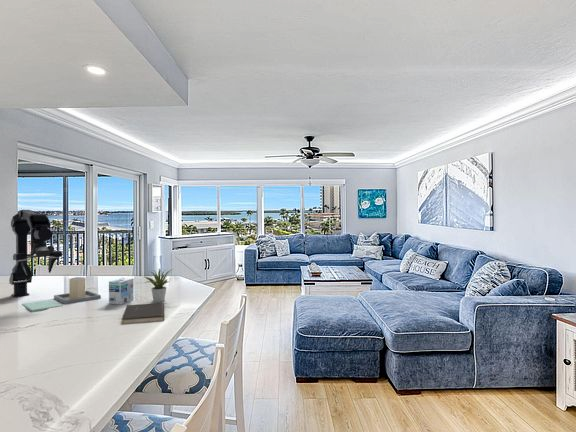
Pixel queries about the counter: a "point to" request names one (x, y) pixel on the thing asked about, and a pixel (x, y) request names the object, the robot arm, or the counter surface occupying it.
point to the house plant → (158, 286)
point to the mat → (41, 305)
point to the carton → (76, 287)
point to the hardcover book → (143, 313)
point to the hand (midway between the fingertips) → (38, 273)
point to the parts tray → (88, 296)
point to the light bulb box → (121, 290)
